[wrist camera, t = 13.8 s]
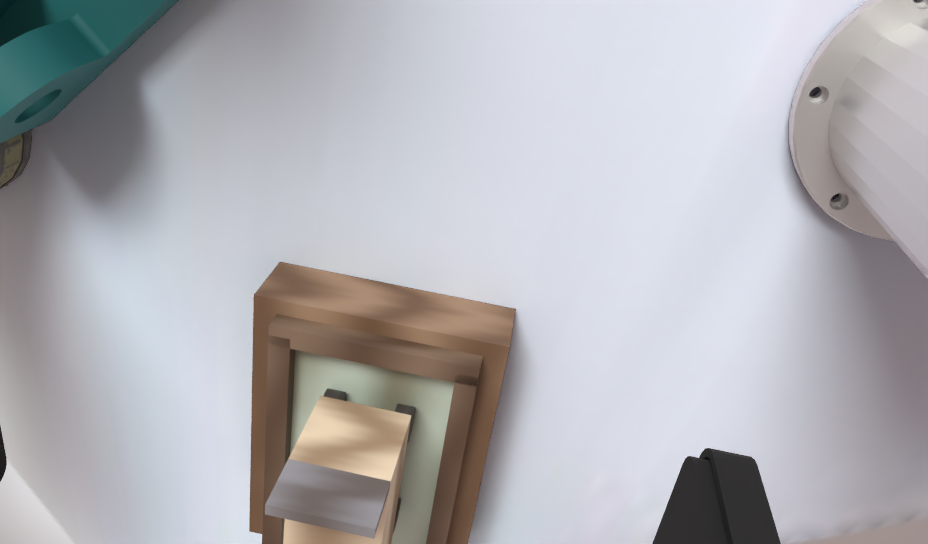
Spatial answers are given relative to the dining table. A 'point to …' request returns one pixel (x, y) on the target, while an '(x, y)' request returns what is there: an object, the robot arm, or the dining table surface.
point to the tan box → (344, 474)
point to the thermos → (14, 157)
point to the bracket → (61, 52)
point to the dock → (379, 386)
